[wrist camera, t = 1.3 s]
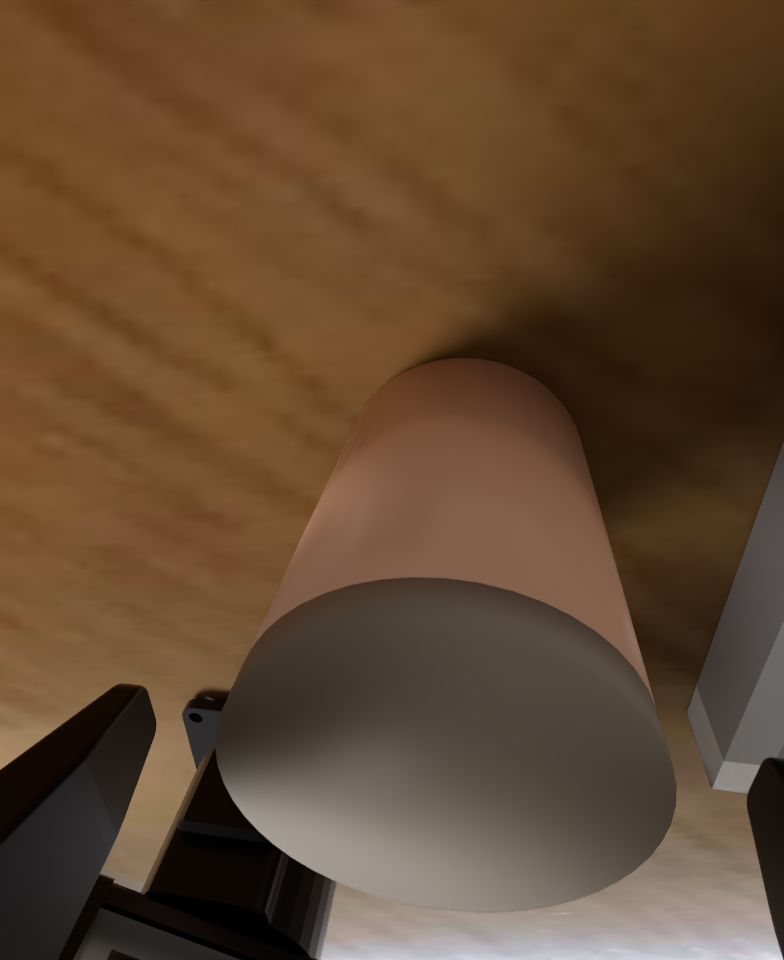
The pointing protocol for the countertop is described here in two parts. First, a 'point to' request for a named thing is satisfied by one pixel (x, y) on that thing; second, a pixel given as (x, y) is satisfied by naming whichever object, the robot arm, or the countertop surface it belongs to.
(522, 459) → the terracotta jar
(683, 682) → the countertop surface
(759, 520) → the pusher lane
